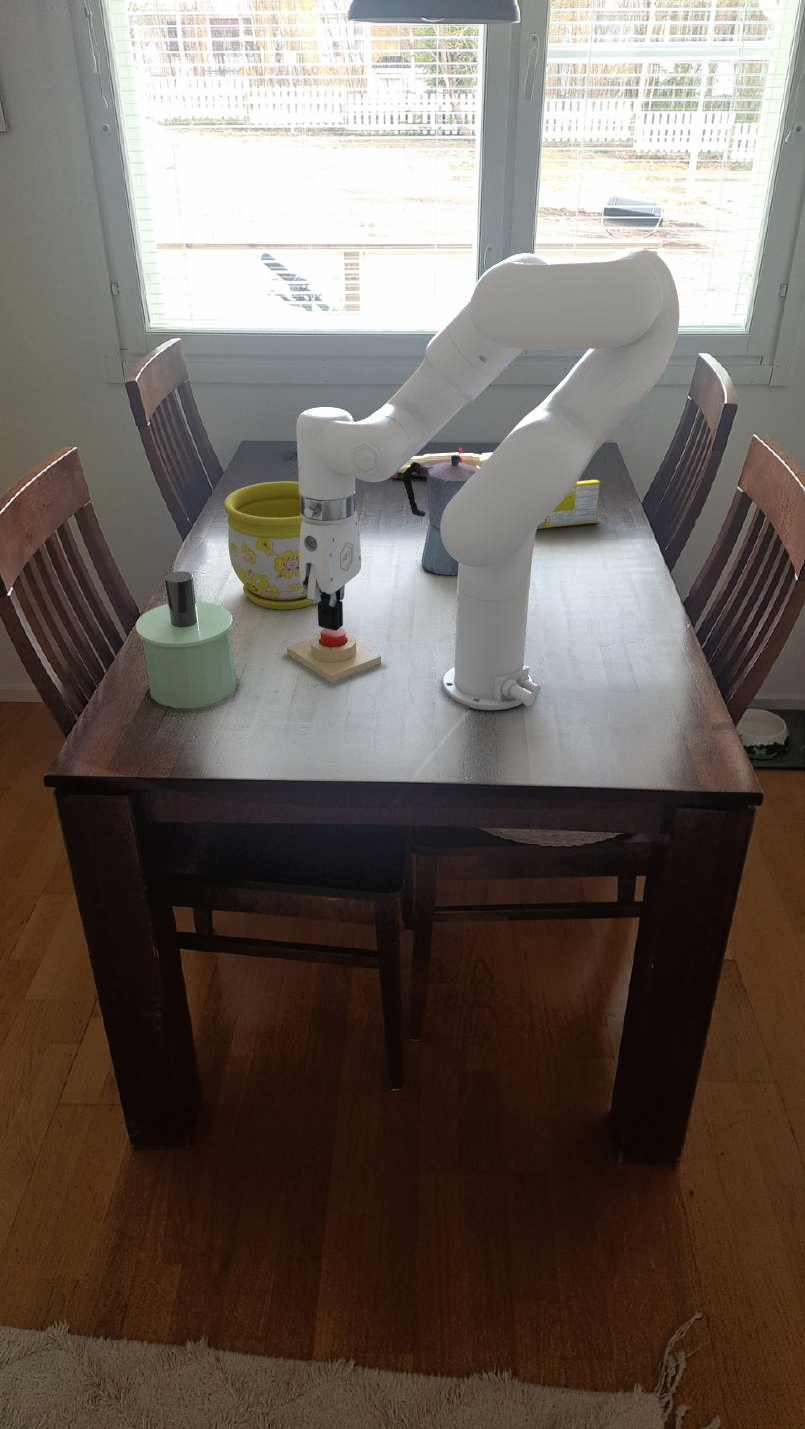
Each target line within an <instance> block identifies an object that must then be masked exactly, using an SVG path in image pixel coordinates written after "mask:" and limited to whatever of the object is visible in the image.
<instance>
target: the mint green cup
mask: <svg viewBox="0 0 805 1429" xmlns="http://www.w3.org/2000/svg"><path fill="white" fill-rule="evenodd" d="M140 639H141V638H140ZM141 645H142V654H143V659H144V665H145V666H144V667H145V673H146V679H147V686H148V691H149V694H150V695H149V696H150V697H151V699H152V700H154V701H155V702H157V703H159V704H160V705H162V706H167V707H170V708H173V709H174V708H175V709H196V708H201V707H207V706H210V705H214V704H216V703H218V702H221V701H223V700H225V699H226V698H227V697H229V696H230V695H231V694H232V693H233V692H234V691H235V688H236V685H237V676H236V665H235V656H234V646H233V645H234V644H233V635H232V628H231V629H230V630H229V631H228V632H227V633H226V634H225V635H223V636H222V637H220V638H218V639H216V640H213V641H211V642H208V643H205V644H201V645H196V646H189V647H163V646H158V645H154V644H150V643H148V642H146V641H144V640H142V639H141Z"/></svg>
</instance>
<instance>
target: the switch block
mask: <svg viewBox="0 0 805 1429" xmlns="http://www.w3.org/2000/svg"><path fill="white" fill-rule="evenodd" d="M345 637H346V643H345V645H343V646H340V647H333V648H330V647H324V646H322V645H321V636H320V632H319V633H316V634H314V636H313V637H311V638H309V639H307V640H304V641H301V642H298V643H295V644H292V645H289V646H287V647H286V653H287V655H288V656H289V657H291V658H292V659H294V660H295V661H297V662H299V663H300V664H301V665H303V666H304V667H306V668H308V669H309V670H311V671H312V672H314V673H316V674H317V675H319V676H320V677H322V678H324V679H325V680H326V681H328V682H329V683H334V682H336V681H339V680H342V679H345V678H347V677H350V676H353V675H355V674H357V673H360V672H362V671H366V670H368V669H371V668H372V667H376V666H379V665H380V664H382V656H381V655H379V654H378V653H377V652H374V651H373V650H372V649H369V648H368V647H366V646H364V645H362V644H361V643H359V642H357V640H356V637H355V636H354V635H353V634H351V633H350V632H347V631H345Z"/></svg>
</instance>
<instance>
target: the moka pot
mask: <svg viewBox="0 0 805 1429" xmlns="http://www.w3.org/2000/svg"><path fill="white" fill-rule="evenodd" d="M459 460H460V456H458V455H452V456H451V462H452V463H438V464H436V465H433V466H431V465H428V464H423V465H422V464H419V463H417V462H413V464H411V465H410V467H408V468H407V469H406V471H405V472H404V473H402V482H403V485H404V488H405V491H406V495H407V499H408V502H409V506H410V509H411V510H410V511H411V513H412V515H414V516H417V517H422V518H423V517H425V516H426V514H427V513H426V511H424V510H420V509H418V505H417V503H416V497H415V492H414V489H413V484H412V480H411V475H413V474H412V473H414V472H415V473H414V474H417V475H418V476H421V477H425V478H426V485H427V504H428V505H427V506H428V511H429V513H428V518H429V523H428V528H427V532H426V536H425V541H424V546H423V549H422V550H423V551H422V555H421V559H420V560H421V566H422V567H423V568H424V569H425V570H427V571H428V572H431V573H434V574H438V575H446V576H458V565H459V562H458V561H456V560H455V559H454V558H453V557H452V556H451V555H450V554H449V553H448V552H447V550H446V548H445V547H444V544H443V542H442V538H441V532H440V524H441V518H442V514H443V512H444V510H445V508H446V506H447V504H448V503H449V502H450V500H451V499H452V498H453V497H454V496H455V495H456V494H457V492H458V491H459V490H460V489H461V488H462V486H463V485H464V484H465V483H466V482H467V481H468V480H469V479H470V478H471V476H473V475H474V474H475V472H476V471H477V470H478V469H479V468H477V467H474V466H471V465H467V464H464V463H459Z"/></svg>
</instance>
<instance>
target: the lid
mask: <svg viewBox="0 0 805 1429" xmlns="http://www.w3.org/2000/svg"><path fill="white" fill-rule="evenodd" d="M164 582H165V590H166V599H167V603H166V604H162V605H158V606H156V607H154V608H151V609H149V610H148V611H146V612H145V613H143V614H142V615H141V616H140V617H139V618H138V619H137V621H136V622H135V632H136V634H137V636H138V637H139V638H140V639H142V640H144V641H146V642H148V643H150V644H154V645H158V646H163V647H189V646H196V645H201V644H205V643H208V642H211V641H213V640H216V639H218V638H220V637H222V636H223V635H225V634H226V633H227V632H228V631H229V630H230V629H231V630H232V627H233V623H234V620H233V615H232V613H231V612H230V611H229V610H228V609H227V608H226V607H224V606H221V605H219V604H216V603H212V602H209V601H208V602H207V601H200V600H199V601H197V600H196V591H195V584H194V575H193V574H192V573H191V572H189V571H183V570H181V571H172V572H170V573H167V574H166V575H165V576H164ZM142 640H141V641H142Z"/></svg>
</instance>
